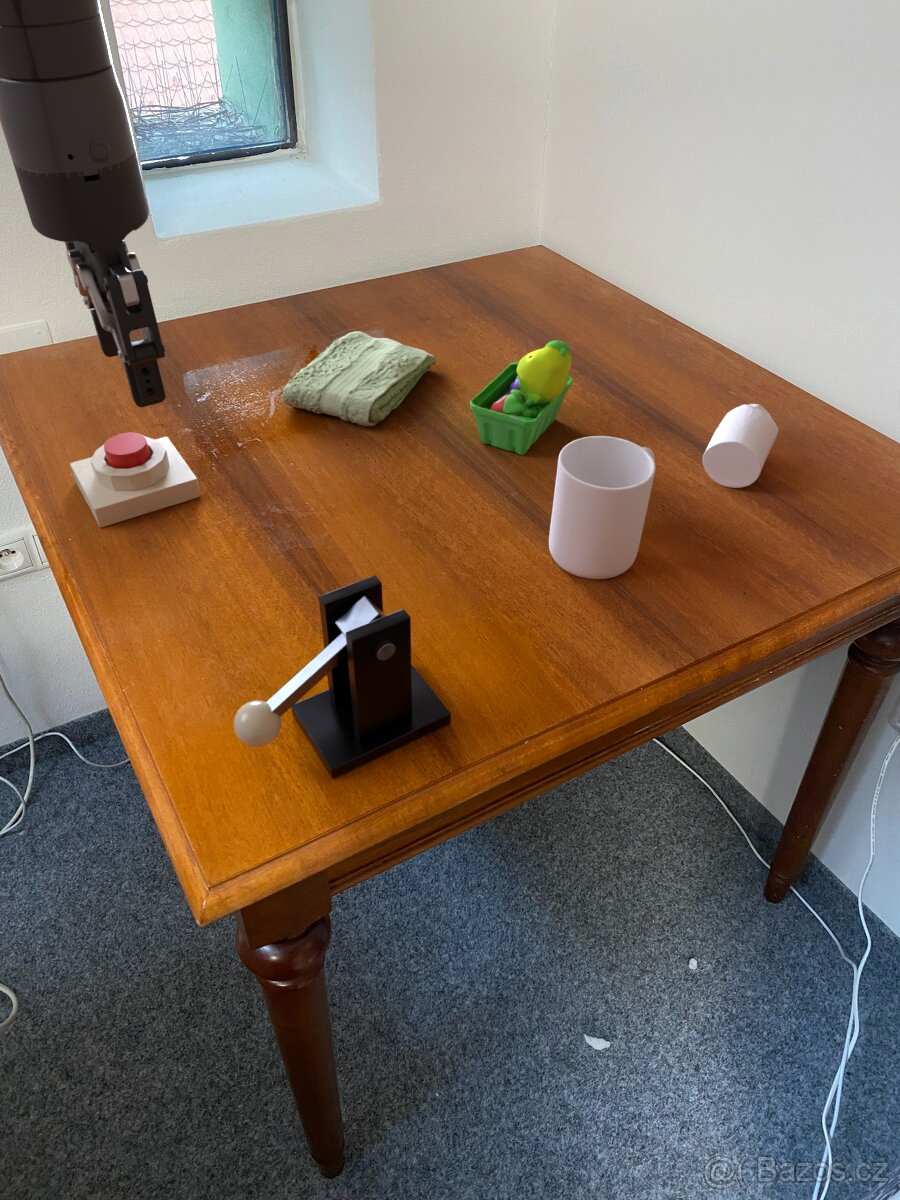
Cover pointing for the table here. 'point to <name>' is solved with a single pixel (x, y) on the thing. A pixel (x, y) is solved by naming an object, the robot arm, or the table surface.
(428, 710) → the bracket
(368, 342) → the washcloth
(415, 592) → the table surface
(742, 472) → the white bottle
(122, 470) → the button box
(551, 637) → the table surface
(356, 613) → the lever
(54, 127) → the robot arm
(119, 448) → the button
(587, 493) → the cup
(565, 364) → the fruit basket
